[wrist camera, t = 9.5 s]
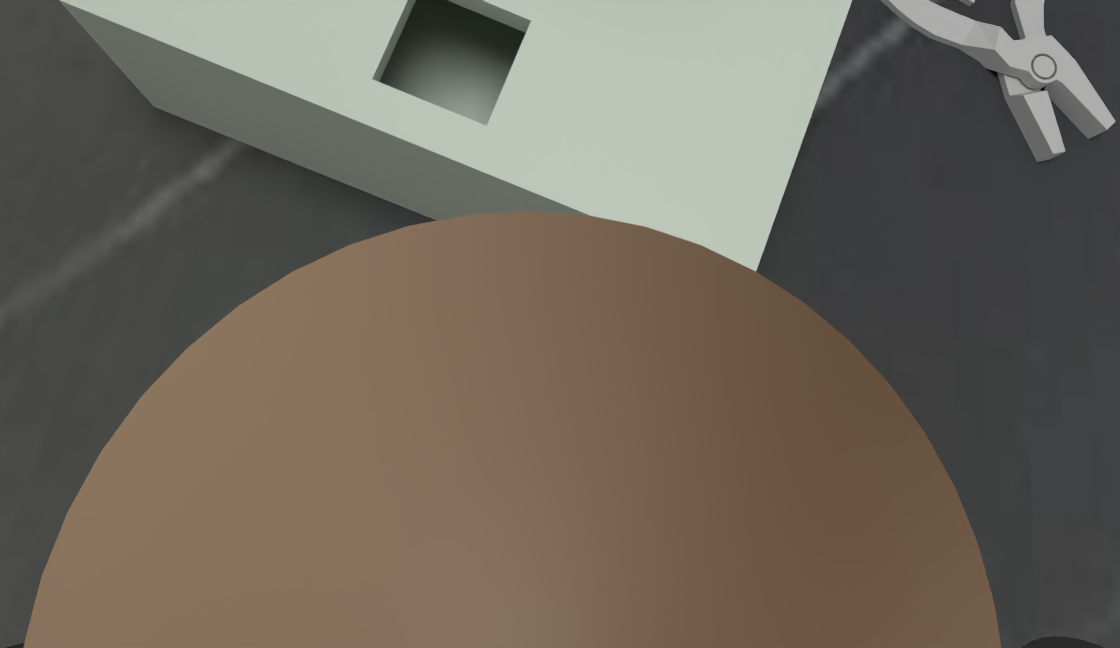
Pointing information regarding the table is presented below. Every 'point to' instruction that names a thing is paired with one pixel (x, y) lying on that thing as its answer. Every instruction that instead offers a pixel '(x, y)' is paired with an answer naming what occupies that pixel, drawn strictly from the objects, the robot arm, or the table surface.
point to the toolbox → (503, 99)
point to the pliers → (1019, 68)
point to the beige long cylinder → (518, 465)
